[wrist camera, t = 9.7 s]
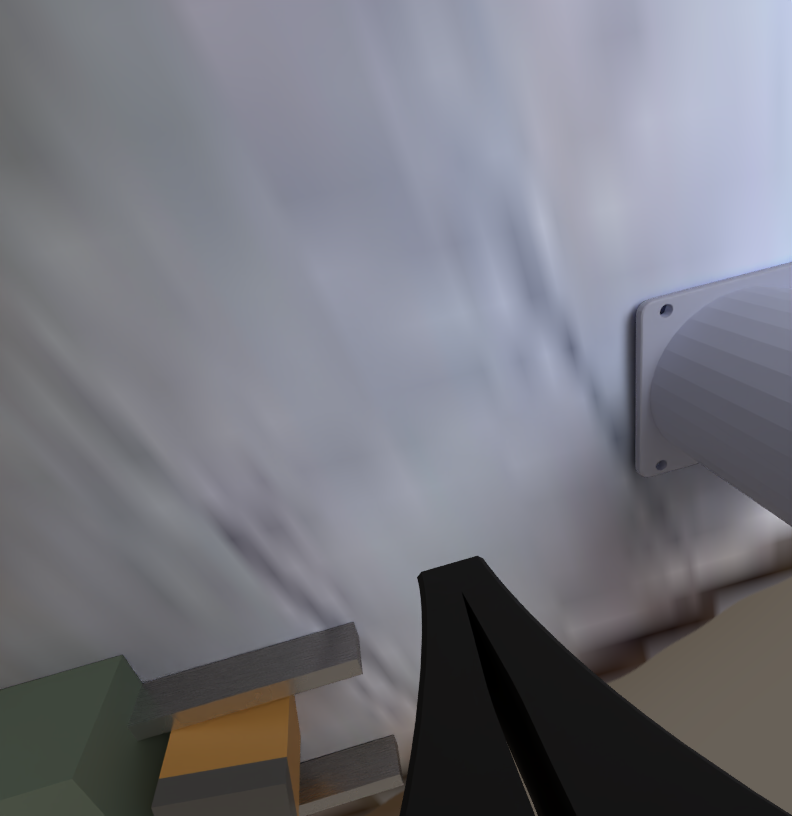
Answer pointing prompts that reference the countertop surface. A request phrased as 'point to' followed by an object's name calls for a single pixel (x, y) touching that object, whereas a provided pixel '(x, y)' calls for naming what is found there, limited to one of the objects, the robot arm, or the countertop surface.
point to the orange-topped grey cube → (234, 765)
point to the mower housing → (168, 729)
